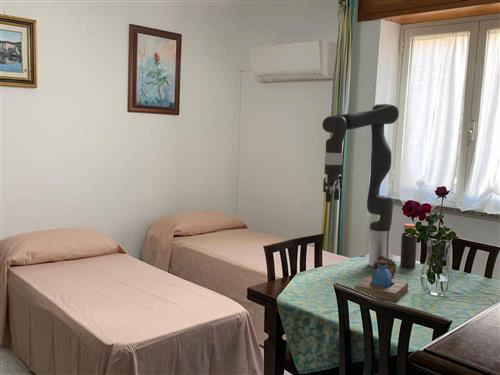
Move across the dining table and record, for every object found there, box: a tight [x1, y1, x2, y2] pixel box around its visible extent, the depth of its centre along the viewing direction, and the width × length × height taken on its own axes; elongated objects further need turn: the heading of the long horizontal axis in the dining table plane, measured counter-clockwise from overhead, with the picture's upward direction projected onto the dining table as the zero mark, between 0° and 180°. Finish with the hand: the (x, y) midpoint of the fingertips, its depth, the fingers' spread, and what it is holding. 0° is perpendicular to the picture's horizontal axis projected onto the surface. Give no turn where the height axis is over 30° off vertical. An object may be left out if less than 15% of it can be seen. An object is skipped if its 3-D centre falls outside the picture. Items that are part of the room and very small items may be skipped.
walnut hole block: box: [354, 275, 409, 303], centre depth 196 cm, size 16×16×4 cm
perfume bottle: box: [371, 260, 393, 288], centre depth 195 cm, size 6×6×12 cm
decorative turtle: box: [373, 256, 398, 277], centre depth 217 cm, size 10×15×8 cm, turn 7°
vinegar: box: [400, 223, 418, 269], centre depth 232 cm, size 7×7×20 cm
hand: (332, 200), depth 214 cm, fingers open, 8 cm apart
